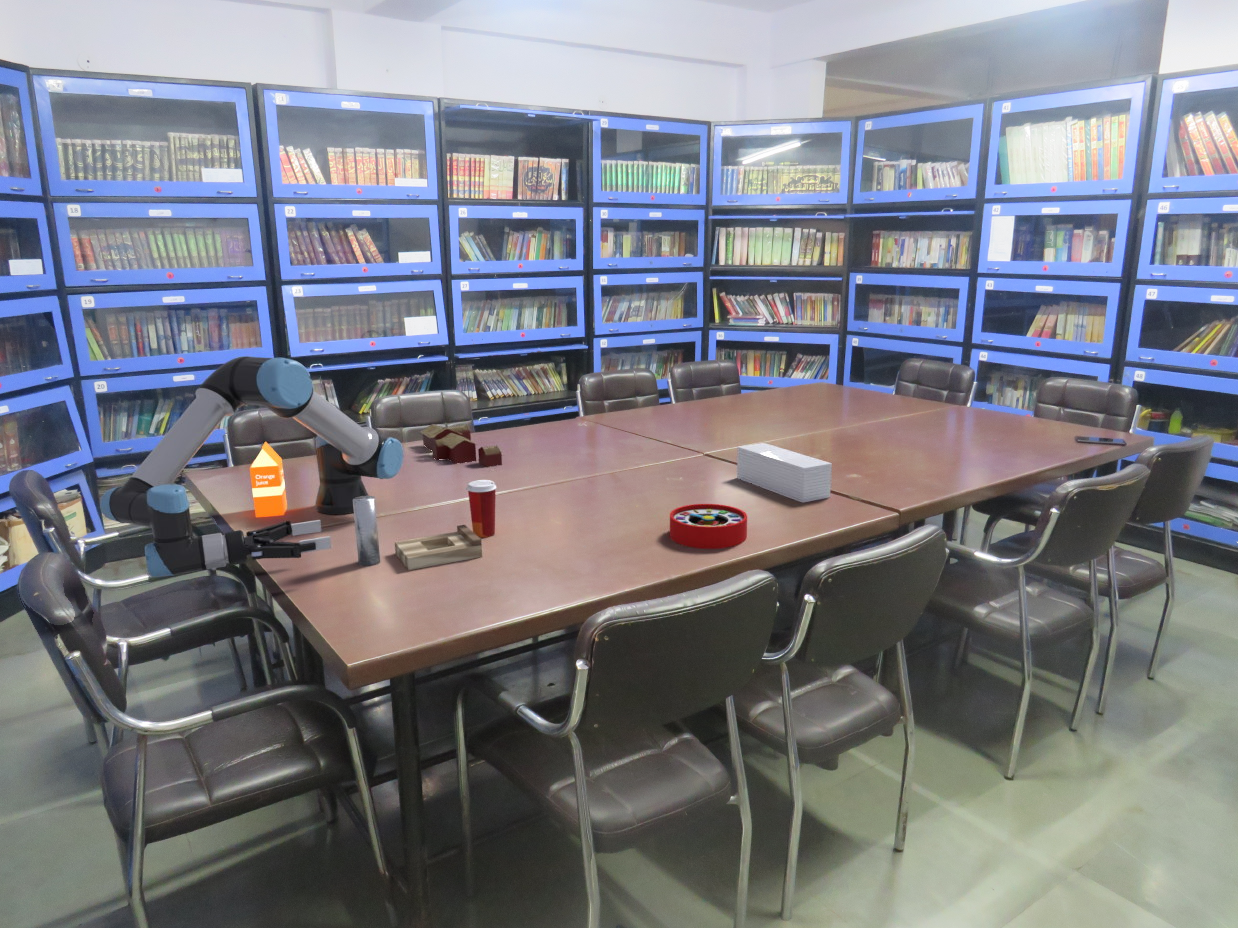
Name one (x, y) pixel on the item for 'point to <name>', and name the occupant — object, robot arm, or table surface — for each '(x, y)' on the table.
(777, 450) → the stack of papers
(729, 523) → the toy clock
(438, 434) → the toy houses
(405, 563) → the frame
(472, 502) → the paper cup
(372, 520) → the brushed metal cylinder
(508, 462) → the table surface
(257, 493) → the orange juice
